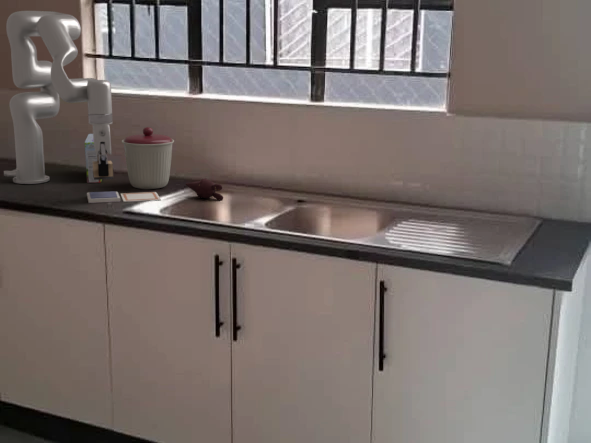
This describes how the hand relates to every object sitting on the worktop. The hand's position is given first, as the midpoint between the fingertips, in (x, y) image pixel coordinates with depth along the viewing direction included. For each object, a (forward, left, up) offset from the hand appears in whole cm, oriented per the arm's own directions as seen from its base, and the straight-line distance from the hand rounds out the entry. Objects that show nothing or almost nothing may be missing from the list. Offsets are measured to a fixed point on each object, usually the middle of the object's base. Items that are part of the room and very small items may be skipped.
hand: (102, 173), depth 270 cm
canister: (+17, +17, -9) cm, 26 cm away
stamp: (0, 0, -1) cm, 1 cm away
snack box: (-1, +38, -9) cm, 39 cm away
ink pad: (0, 0, -8) cm, 8 cm away
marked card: (+12, 0, -8) cm, 15 cm away
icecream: (+32, -5, -9) cm, 34 cm away
